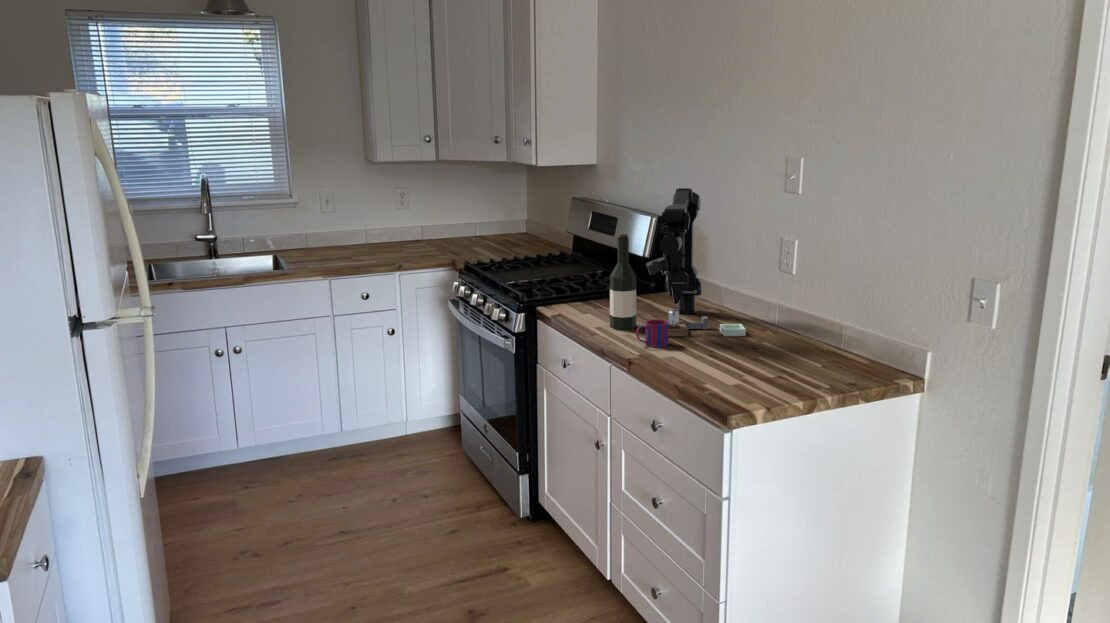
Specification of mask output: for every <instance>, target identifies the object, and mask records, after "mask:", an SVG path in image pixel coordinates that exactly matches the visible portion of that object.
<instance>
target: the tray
mask: <svg viewBox="0 0 1110 623" xmlns="http://www.w3.org/2000/svg"><path fill="white" fill-rule="evenodd" d="M746 331H747V330H746V328H745V327H744V325H743V324H742V323H719V332H720V333H721V335H722V336H723V337H745V336H746V335H747V334H746Z"/></svg>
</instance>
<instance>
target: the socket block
mask: <svg viewBox="0 0 1110 623" xmlns="http://www.w3.org/2000/svg"><path fill="white" fill-rule="evenodd" d="M679 323H685V322H684V320H679ZM688 336H689V329H687V327H686V325H685V324H679V329H668V337H688Z"/></svg>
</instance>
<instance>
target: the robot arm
mask: <svg viewBox="0 0 1110 623" xmlns="http://www.w3.org/2000/svg"><path fill="white" fill-rule="evenodd" d="M701 206H702V205H701V197H700V195H699V194H697V193H696V192H694V191H693V189H692V188H690V187H679V188H676V190H675V193H674V194H673V199H672V203H671V205H668V206H666V207H665V208H664V211H662V212H661V219H660V227H659V232H660V233H664V236H663V237H662V238H661V240H660V241H659V249H660V251H661V253H663V254H662V257H659V258H656V259H653V260H651V261H648V262H646V263H645V266H646V268H647V271H648V273H649V275H650V276H652V275H655V274H657V273H659V272H661V274H662V276H663V277H664V278H665V279H666V283H667V287H668V288H667V289H668V291H669V292H668V293H669V296H670V298H673V304H674V305H675V304H676V305H678V307H676V308H675V310H677V311H679V315H680V314H683V315H684V314H686V315H687V314H688V315H689V314H698V310H697V309H696V296H697V297H699V296H702V290H703V289H702V282H701V280H700V278H699V275H698V270H697V269H696V267H695V265H694V222H695V220H696V219H697V217H698V215H699V211H700V210H701Z"/></svg>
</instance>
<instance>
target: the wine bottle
mask: <svg viewBox="0 0 1110 623" xmlns="http://www.w3.org/2000/svg"><path fill="white" fill-rule="evenodd" d="M629 238H630V237H629V236H628V233H623V232H622V233H619V234H618V236H617V263H616V265H615V266H614V268H613V269H612V272H611V273H610V275H609V328H611V329H612V328H613V329H612V330H614V329H616V331H630V330H632V331H633V330H634V329H636V328H637V274H636V273H635V271H634V269H633V268H632V266H631V264H630V263H629V250H630V249H629V246H630V245H629V242H630V241H629V240H630V239H629Z"/></svg>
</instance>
